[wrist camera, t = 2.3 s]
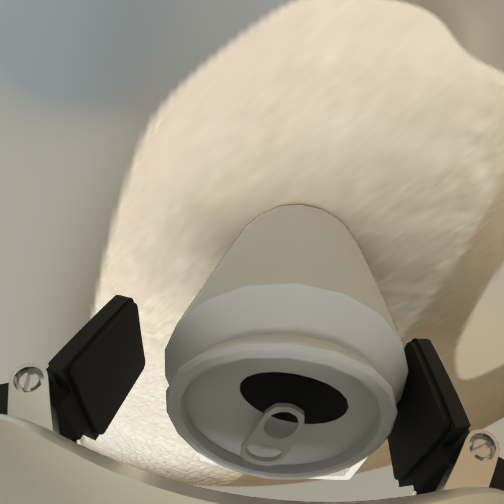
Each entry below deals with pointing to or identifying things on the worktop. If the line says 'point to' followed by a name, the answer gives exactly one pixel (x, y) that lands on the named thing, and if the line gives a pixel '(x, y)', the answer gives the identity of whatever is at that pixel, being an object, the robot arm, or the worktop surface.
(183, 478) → the worktop surface
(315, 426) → the can
